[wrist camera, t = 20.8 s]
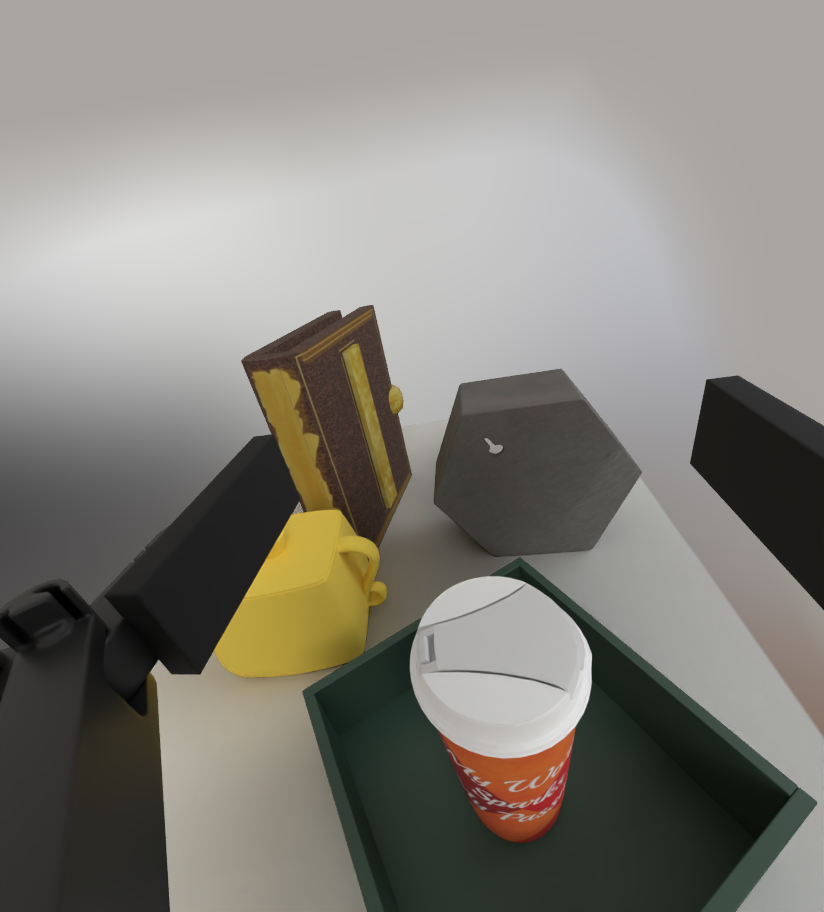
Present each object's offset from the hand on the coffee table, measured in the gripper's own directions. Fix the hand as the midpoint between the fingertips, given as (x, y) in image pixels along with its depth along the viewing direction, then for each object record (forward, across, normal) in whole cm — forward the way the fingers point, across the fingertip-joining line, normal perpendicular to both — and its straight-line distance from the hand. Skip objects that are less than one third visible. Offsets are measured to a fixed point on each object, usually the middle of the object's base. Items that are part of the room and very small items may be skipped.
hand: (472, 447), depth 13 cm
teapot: (+13, -20, -26) cm, 35 cm away
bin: (0, 0, -26) cm, 26 cm away
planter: (+24, +4, -26) cm, 36 cm away
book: (+31, -16, -26) cm, 43 cm away
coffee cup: (0, 0, -25) cm, 25 cm away
